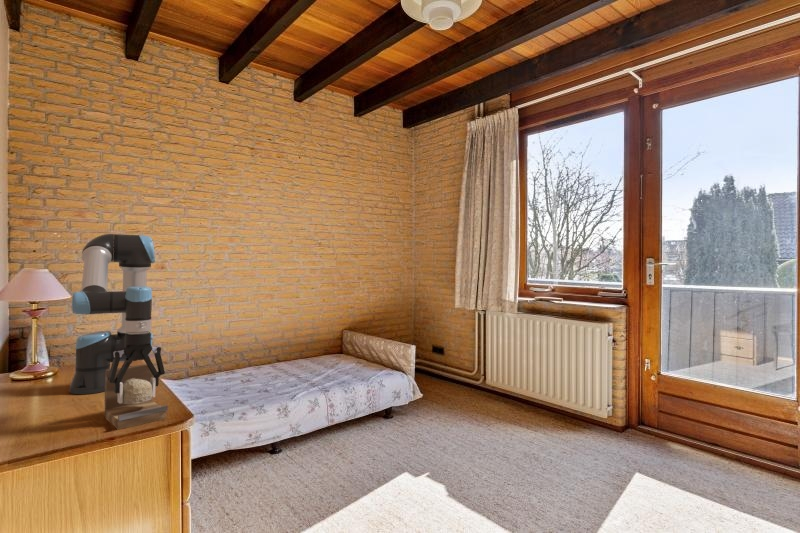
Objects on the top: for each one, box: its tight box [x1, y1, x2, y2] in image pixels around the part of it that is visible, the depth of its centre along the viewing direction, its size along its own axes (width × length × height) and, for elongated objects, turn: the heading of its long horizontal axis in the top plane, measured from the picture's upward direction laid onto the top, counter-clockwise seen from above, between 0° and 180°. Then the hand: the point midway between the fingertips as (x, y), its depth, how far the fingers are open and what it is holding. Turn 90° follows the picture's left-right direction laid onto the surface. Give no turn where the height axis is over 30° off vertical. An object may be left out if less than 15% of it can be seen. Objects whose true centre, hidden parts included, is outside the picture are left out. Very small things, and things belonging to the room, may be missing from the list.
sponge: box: [123, 378, 153, 404], centre depth 141 cm, size 9×10×10 cm
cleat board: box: [103, 363, 169, 431], centre depth 141 cm, size 17×14×16 cm
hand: (136, 399), depth 141 cm, fingers closed on sponge, 9 cm apart
